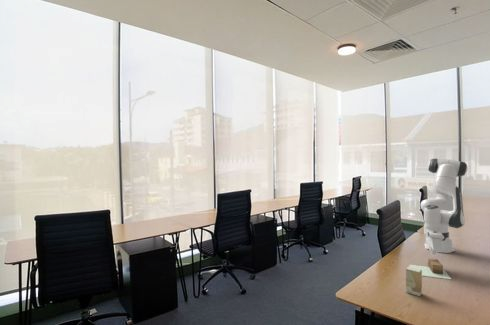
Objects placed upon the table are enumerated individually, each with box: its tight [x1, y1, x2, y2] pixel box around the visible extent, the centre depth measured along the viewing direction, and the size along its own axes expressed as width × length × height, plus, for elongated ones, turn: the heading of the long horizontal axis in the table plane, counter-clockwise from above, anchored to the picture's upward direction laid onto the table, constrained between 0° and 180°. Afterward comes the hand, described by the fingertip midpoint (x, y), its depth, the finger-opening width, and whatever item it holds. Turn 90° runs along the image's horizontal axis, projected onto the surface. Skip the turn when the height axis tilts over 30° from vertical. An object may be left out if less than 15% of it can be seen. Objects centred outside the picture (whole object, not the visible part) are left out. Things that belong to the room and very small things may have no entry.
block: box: [427, 258, 444, 274], centre depth 158 cm, size 5×5×11 cm
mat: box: [408, 264, 452, 280], centre depth 157 cm, size 16×18×1 cm
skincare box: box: [405, 265, 423, 297], centre depth 132 cm, size 6×4×12 cm
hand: (433, 253), depth 162 cm, fingers closed
